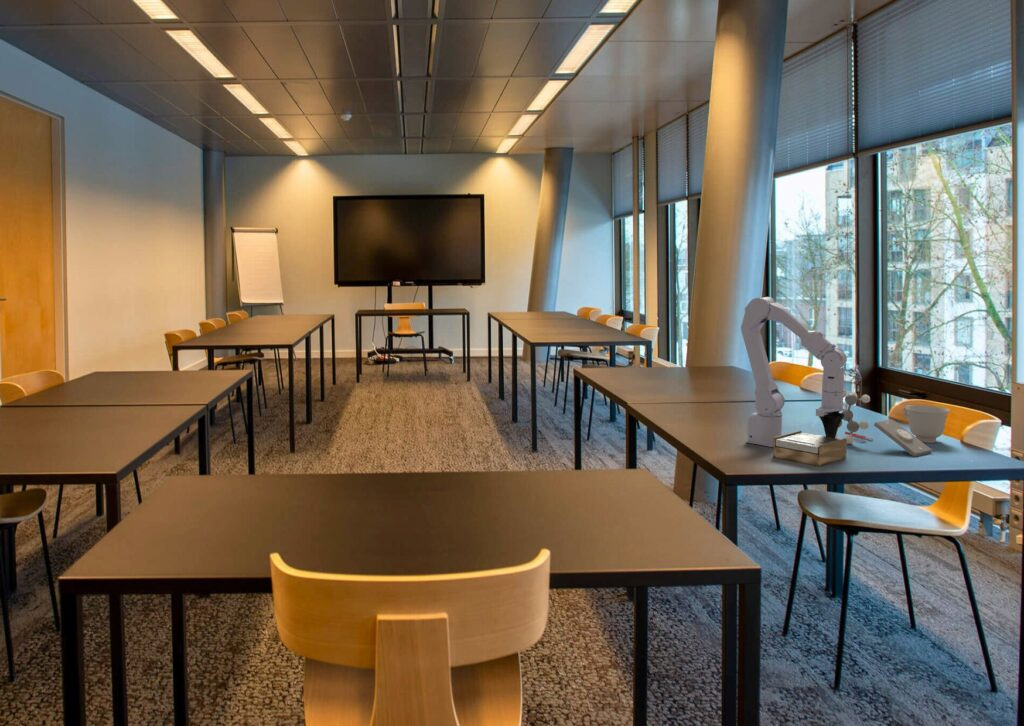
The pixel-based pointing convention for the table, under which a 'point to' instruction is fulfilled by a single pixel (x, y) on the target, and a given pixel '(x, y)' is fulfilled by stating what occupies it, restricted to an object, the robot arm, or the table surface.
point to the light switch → (903, 437)
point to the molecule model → (848, 416)
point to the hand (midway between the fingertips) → (830, 437)
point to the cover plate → (804, 442)
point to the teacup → (926, 421)
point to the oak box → (825, 456)
